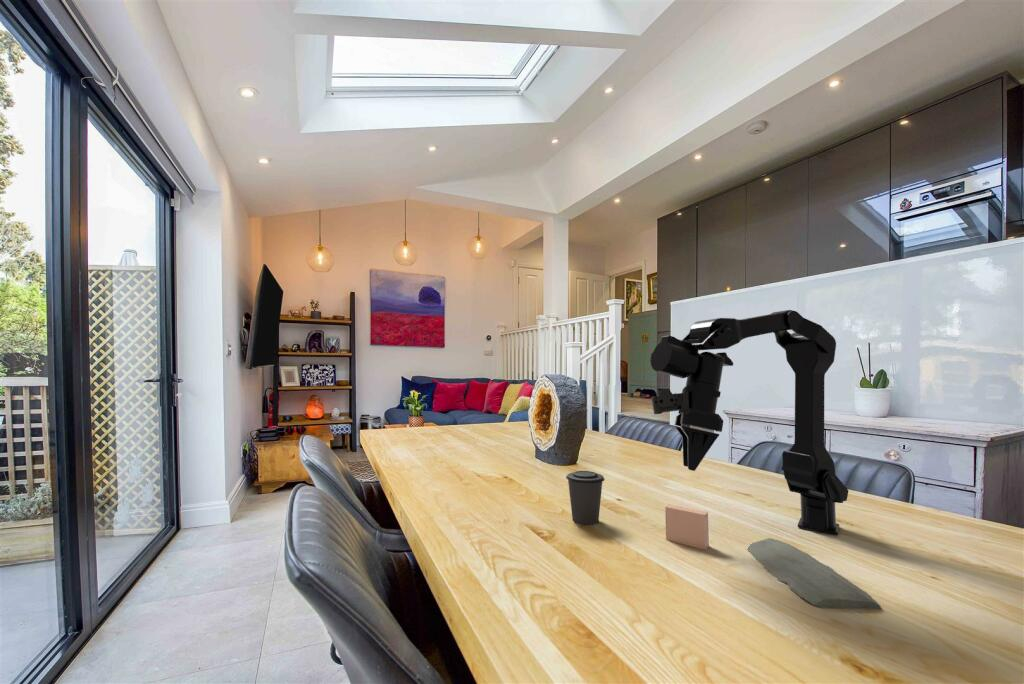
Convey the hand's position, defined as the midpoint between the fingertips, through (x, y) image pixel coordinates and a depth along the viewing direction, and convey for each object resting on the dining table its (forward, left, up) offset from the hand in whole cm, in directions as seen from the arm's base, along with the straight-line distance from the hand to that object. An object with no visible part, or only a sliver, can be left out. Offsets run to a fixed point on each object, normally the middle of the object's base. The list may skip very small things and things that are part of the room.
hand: (688, 468), depth 78 cm
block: (-1, -1, -14) cm, 14 cm away
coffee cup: (+1, -21, -14) cm, 25 cm away
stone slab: (-1, +16, -15) cm, 22 cm away
